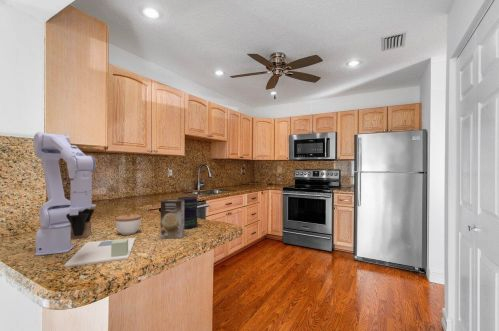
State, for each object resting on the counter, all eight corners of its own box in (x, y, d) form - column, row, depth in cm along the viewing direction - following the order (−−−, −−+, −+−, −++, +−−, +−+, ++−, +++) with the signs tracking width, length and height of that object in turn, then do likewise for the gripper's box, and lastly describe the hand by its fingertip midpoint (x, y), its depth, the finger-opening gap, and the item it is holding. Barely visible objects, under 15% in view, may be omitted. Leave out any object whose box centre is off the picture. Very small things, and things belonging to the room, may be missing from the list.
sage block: (111, 257, 78) (111, 243, 78) (113, 252, 83) (113, 239, 83) (126, 255, 80) (126, 241, 80) (128, 251, 84) (128, 238, 84)
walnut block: (70, 239, 75) (70, 225, 75) (75, 235, 79) (75, 222, 79) (87, 238, 76) (87, 224, 76) (91, 234, 81) (91, 221, 81)
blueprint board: (63, 267, 72) (63, 264, 72) (86, 243, 94) (86, 242, 94) (128, 259, 78) (128, 257, 78) (135, 239, 101) (135, 237, 101)
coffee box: (159, 238, 101) (159, 201, 101) (164, 234, 107) (164, 199, 108) (181, 238, 101) (181, 200, 102) (184, 234, 108) (184, 199, 108)
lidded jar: (131, 229, 117) (131, 210, 117) (146, 231, 112) (146, 212, 112) (109, 234, 108) (110, 214, 108) (125, 237, 103) (125, 216, 103)
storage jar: (200, 227, 119) (199, 198, 120) (180, 230, 115) (180, 199, 115) (194, 223, 128) (194, 196, 128) (175, 226, 123) (175, 197, 123)
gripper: (89, 193, 72) (88, 238, 72) (100, 189, 86) (100, 227, 86) (61, 194, 70) (60, 240, 70) (77, 190, 84) (77, 228, 83)
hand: (81, 233), depth 78 cm, fingers closed on walnut block, 4 cm apart
